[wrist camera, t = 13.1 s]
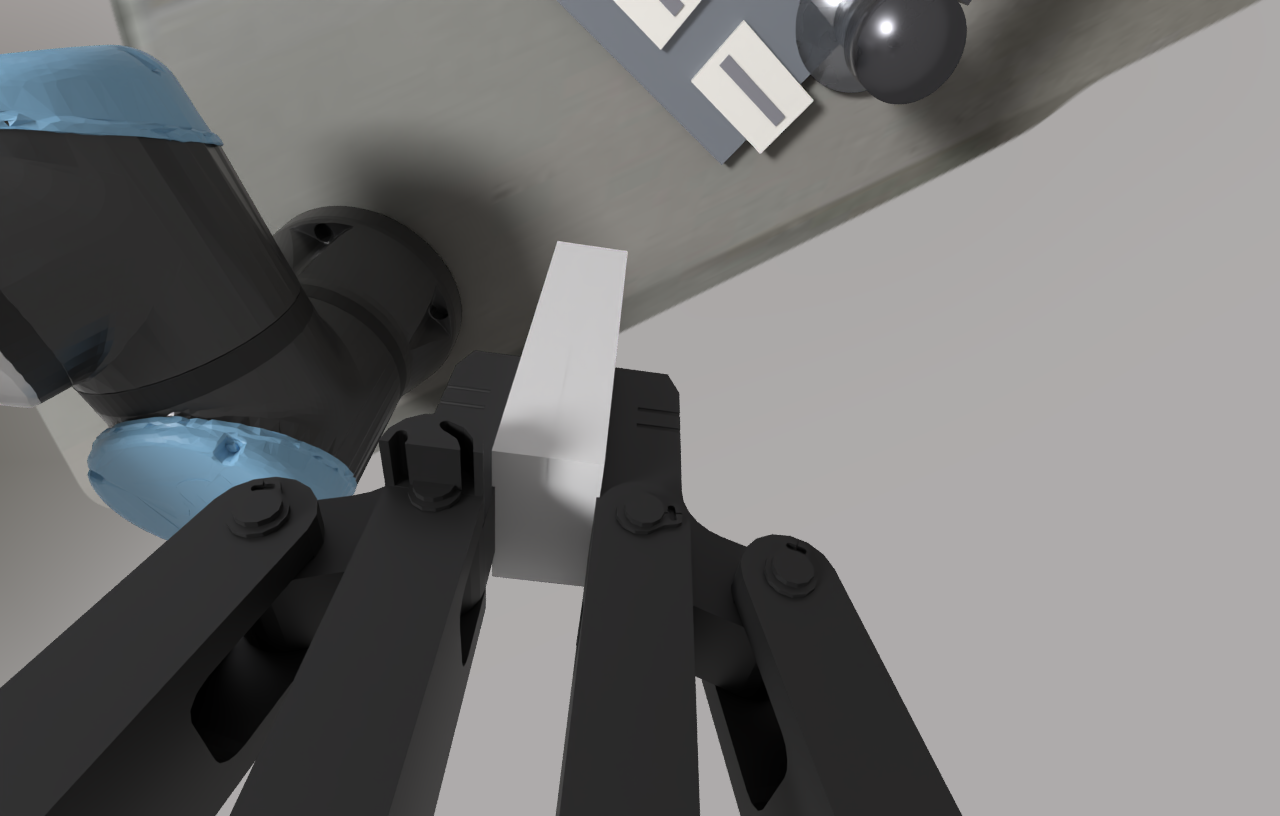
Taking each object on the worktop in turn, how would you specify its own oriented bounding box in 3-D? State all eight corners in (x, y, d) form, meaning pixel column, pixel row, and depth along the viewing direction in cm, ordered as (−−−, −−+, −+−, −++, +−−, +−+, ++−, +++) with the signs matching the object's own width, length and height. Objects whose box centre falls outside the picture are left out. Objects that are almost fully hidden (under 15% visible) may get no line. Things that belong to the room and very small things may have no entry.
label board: (732, 173, 44) (734, 180, 43) (545, -15, 38) (541, -12, 37) (852, 52, 40) (858, 57, 39) (661, -186, 33) (661, -189, 32)
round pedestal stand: (847, 117, 42) (872, 147, 37) (765, 21, 39) (780, 41, 34) (958, 11, 38) (1003, 29, 33) (878, -105, 35) (914, -104, 30)
